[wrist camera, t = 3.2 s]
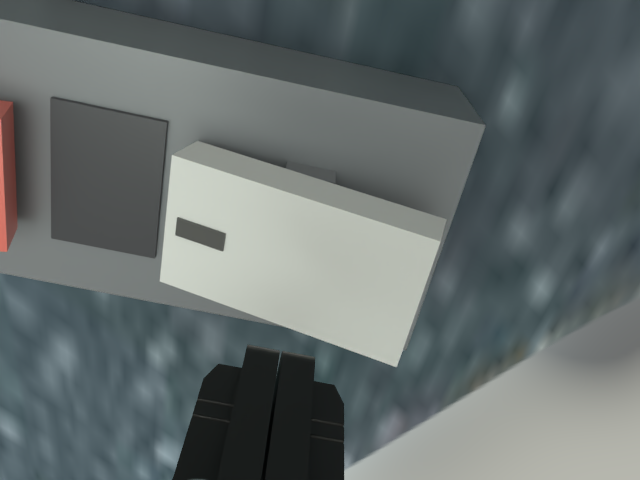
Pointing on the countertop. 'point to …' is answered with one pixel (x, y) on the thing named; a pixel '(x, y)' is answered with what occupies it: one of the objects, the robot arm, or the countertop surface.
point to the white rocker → (297, 250)
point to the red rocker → (7, 176)
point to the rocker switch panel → (196, 136)
